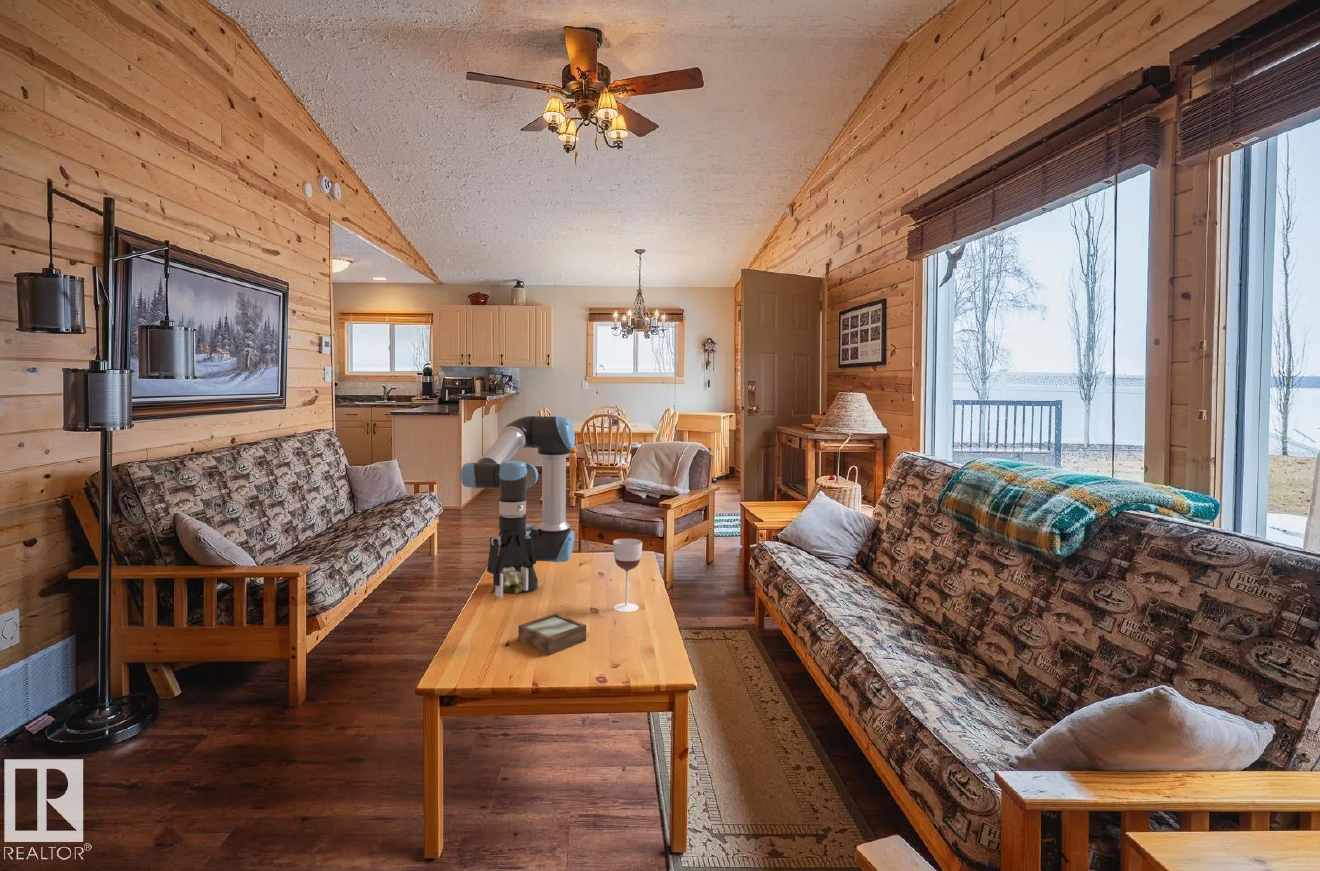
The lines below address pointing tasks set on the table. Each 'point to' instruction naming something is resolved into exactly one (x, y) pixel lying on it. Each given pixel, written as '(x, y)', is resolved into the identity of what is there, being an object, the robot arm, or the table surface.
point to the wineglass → (627, 565)
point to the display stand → (552, 633)
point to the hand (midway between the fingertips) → (512, 592)
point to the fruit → (511, 581)
